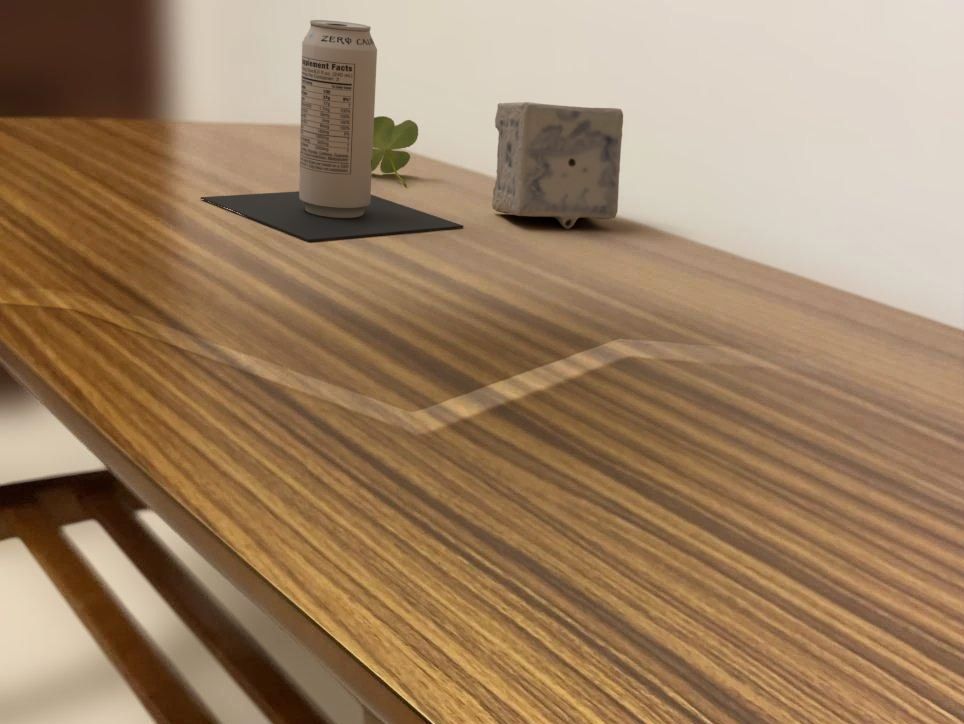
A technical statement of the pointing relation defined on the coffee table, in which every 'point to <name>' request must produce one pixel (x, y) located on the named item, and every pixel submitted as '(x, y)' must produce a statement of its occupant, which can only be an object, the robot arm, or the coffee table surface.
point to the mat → (296, 221)
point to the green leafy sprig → (392, 144)
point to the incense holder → (558, 161)
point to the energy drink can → (337, 118)
